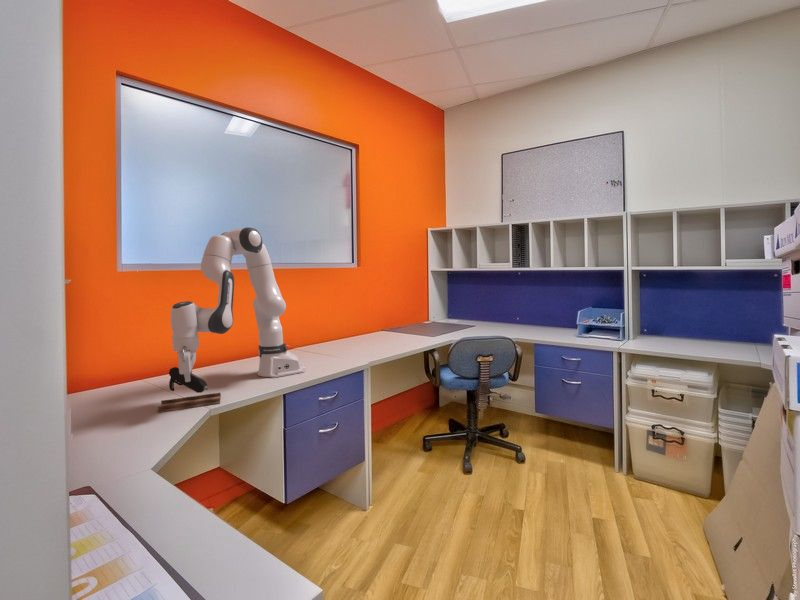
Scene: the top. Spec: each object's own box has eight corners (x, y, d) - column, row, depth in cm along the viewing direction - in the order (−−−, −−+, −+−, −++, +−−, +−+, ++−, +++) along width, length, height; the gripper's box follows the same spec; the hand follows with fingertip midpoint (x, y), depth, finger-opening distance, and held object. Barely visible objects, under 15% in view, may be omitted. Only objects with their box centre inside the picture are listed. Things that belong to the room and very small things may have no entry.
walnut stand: (220, 395, 161) (220, 391, 161) (220, 403, 152) (219, 399, 152) (162, 404, 153) (161, 399, 153) (157, 412, 144) (157, 408, 144)
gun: (198, 406, 151) (207, 384, 149) (161, 387, 151) (170, 364, 150) (202, 403, 154) (211, 382, 152) (166, 384, 154) (175, 362, 153)
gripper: (192, 348, 142) (195, 386, 143) (197, 339, 160) (200, 372, 162) (172, 350, 139) (175, 388, 141) (180, 340, 158) (182, 374, 159)
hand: (188, 379), depth 151 cm, fingers closed on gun, 4 cm apart
